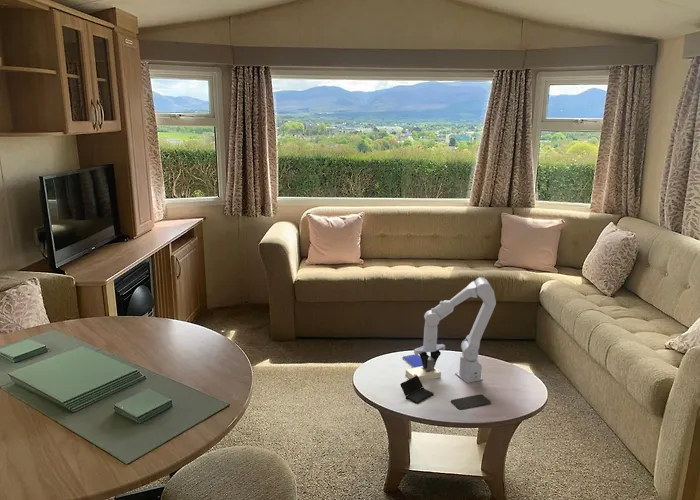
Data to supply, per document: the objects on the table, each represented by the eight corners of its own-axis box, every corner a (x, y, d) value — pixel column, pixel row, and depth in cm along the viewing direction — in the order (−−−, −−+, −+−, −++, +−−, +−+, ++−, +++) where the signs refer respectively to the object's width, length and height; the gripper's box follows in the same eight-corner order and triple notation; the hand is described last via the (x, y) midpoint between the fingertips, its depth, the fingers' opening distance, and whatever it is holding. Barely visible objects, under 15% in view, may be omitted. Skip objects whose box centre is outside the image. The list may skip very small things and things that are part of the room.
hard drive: (402, 356, 253) (415, 367, 242) (417, 353, 256) (431, 364, 245) (402, 359, 254) (415, 370, 243) (417, 356, 257) (431, 368, 246)
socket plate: (440, 377, 236) (441, 371, 235) (414, 382, 231) (415, 376, 230) (430, 369, 243) (431, 363, 242) (405, 374, 238) (405, 368, 237)
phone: (449, 400, 216) (481, 393, 221) (449, 401, 217) (481, 395, 222) (459, 409, 210) (492, 402, 215) (459, 411, 210) (492, 404, 215)
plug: (433, 371, 237) (434, 359, 236) (427, 373, 236) (427, 360, 234) (429, 368, 240) (430, 355, 239) (423, 369, 239) (423, 357, 237)
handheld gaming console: (422, 402, 212) (411, 378, 215) (408, 408, 216) (397, 384, 219) (436, 394, 222) (425, 371, 224) (422, 400, 225) (412, 377, 228)
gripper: (439, 332, 241) (437, 360, 244) (411, 336, 235) (409, 365, 238) (448, 338, 234) (446, 367, 238) (419, 343, 229) (417, 372, 232)
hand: (428, 366), depth 238 cm, fingers closed on plug, 3 cm apart
